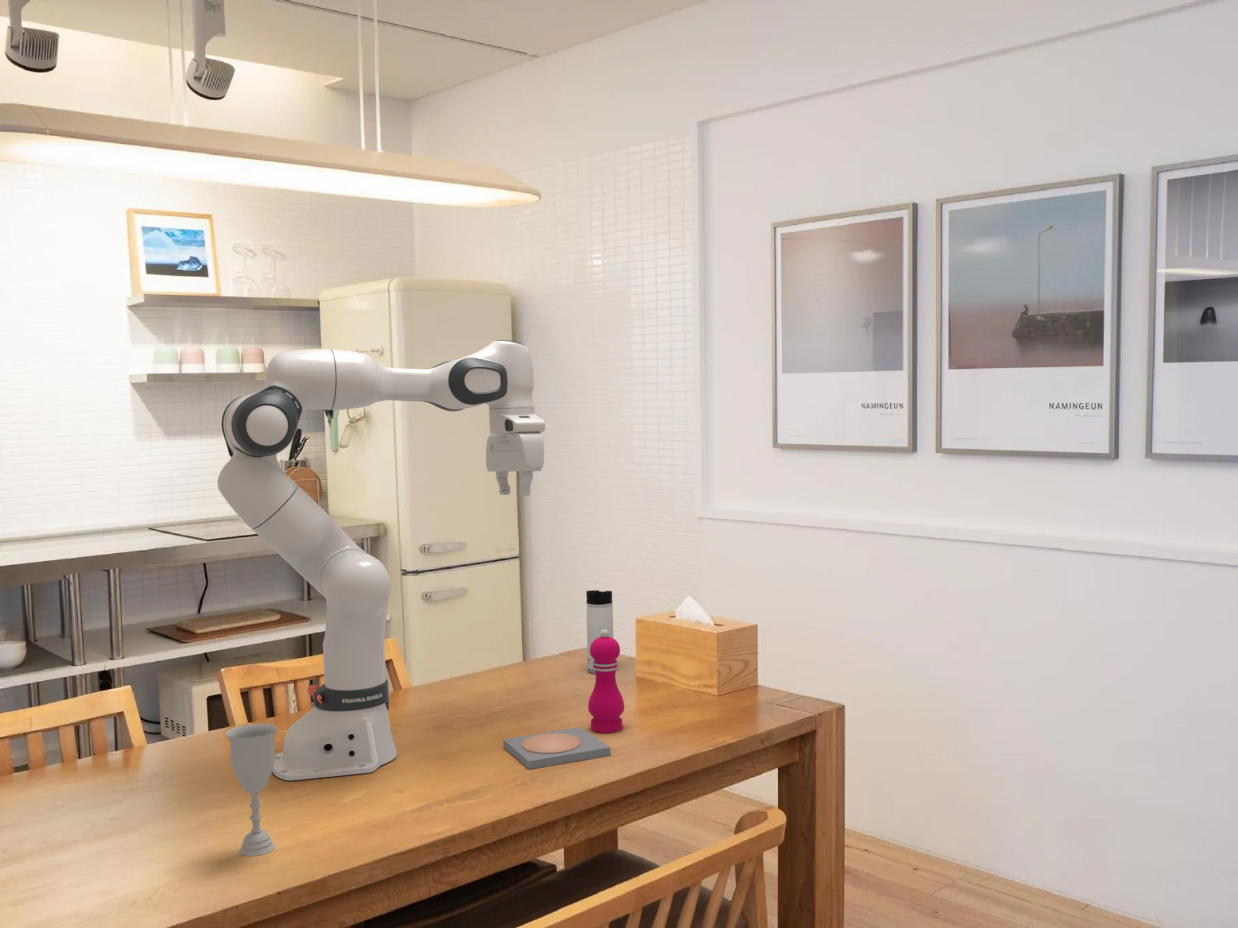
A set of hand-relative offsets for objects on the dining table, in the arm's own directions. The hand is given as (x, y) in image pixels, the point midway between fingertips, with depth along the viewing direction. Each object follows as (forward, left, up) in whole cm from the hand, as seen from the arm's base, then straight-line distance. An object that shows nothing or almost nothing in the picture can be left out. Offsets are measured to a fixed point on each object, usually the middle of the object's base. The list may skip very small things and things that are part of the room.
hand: (514, 495), depth 214 cm
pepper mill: (+16, -6, -47) cm, 50 cm away
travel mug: (+33, +35, -47) cm, 68 cm away
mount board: (+2, -14, -47) cm, 49 cm away
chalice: (-54, -34, -47) cm, 79 cm away
